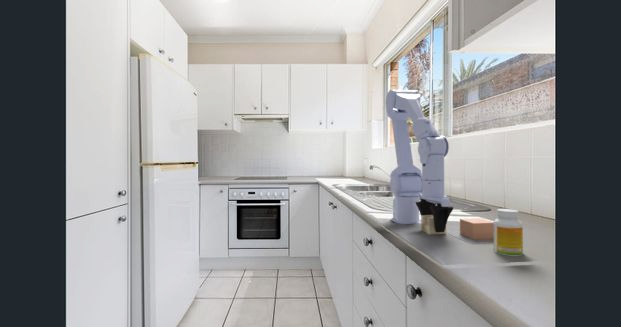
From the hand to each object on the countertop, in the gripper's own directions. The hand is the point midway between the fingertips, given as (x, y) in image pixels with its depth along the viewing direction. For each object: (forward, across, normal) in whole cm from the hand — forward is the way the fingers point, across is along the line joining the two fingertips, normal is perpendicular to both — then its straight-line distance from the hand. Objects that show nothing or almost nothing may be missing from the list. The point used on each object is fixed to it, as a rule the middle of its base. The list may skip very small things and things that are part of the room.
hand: (433, 228), depth 88 cm
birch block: (+2, 0, 0) cm, 2 cm away
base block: (+1, -6, -9) cm, 11 cm away
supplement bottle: (+2, -20, -7) cm, 21 cm away
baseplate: (+1, -6, -9) cm, 11 cm away
